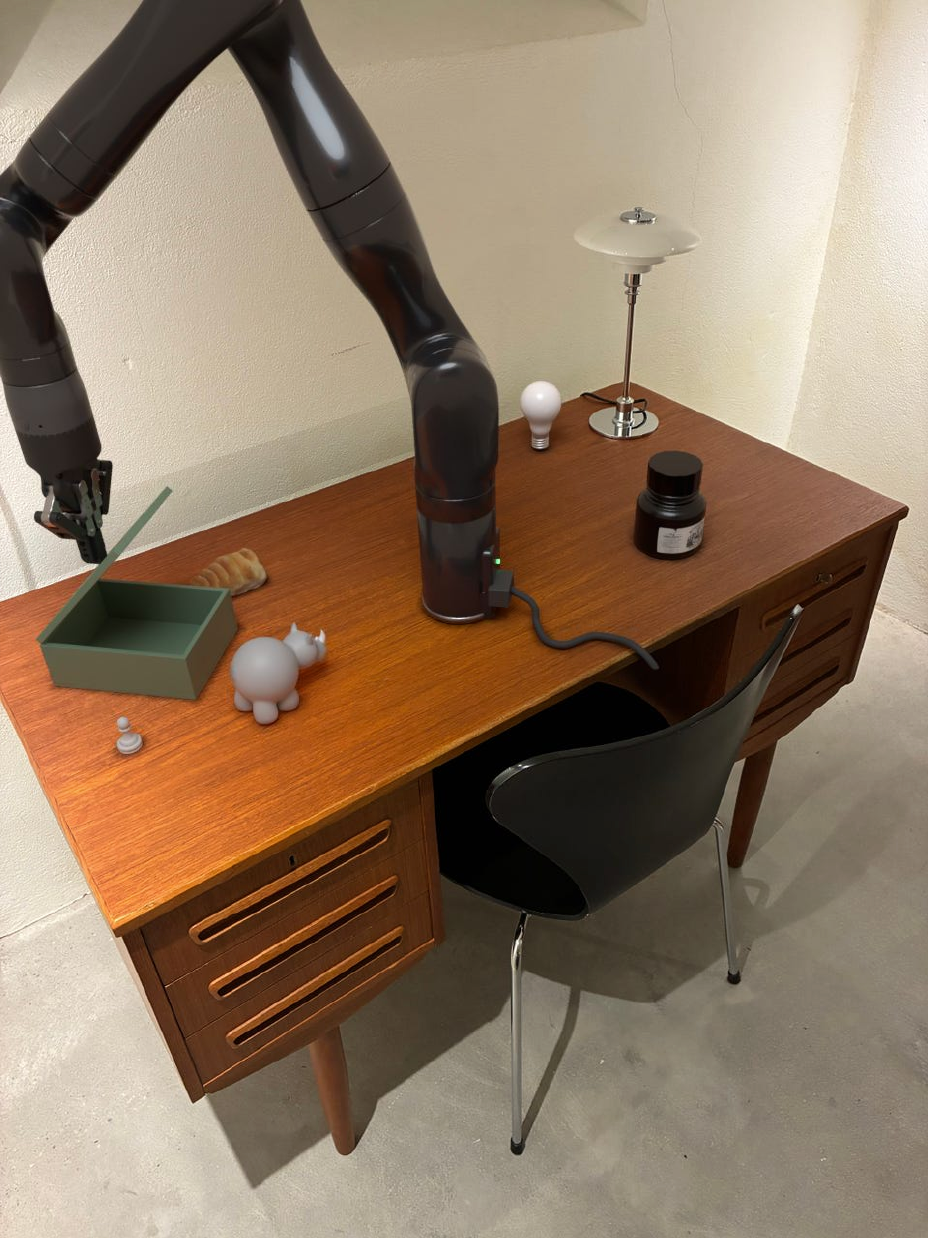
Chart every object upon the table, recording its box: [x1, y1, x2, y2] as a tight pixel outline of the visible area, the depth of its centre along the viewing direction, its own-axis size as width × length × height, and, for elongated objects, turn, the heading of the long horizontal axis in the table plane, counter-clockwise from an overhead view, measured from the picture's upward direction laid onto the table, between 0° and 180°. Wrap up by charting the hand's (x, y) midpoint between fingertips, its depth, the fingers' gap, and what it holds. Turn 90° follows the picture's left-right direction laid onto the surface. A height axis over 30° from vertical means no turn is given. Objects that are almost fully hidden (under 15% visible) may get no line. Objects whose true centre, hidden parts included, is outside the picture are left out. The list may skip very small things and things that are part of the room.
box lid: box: [35, 485, 174, 644], centre depth 110 cm, size 18×13×1 cm
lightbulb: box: [519, 380, 563, 451], centre depth 152 cm, size 6×6×11 cm
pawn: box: [116, 716, 144, 755], centre depth 104 cm, size 3×3×4 cm
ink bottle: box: [633, 450, 707, 560], centre depth 129 cm, size 10×9×12 cm
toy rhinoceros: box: [229, 622, 327, 725], centre depth 108 cm, size 7×12×8 cm, turn 135°
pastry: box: [189, 547, 267, 597], centre depth 127 cm, size 9×7×4 cm
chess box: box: [39, 577, 239, 701], centre depth 115 cm, size 17×13×6 cm
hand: (96, 559), depth 109 cm, fingers closed
